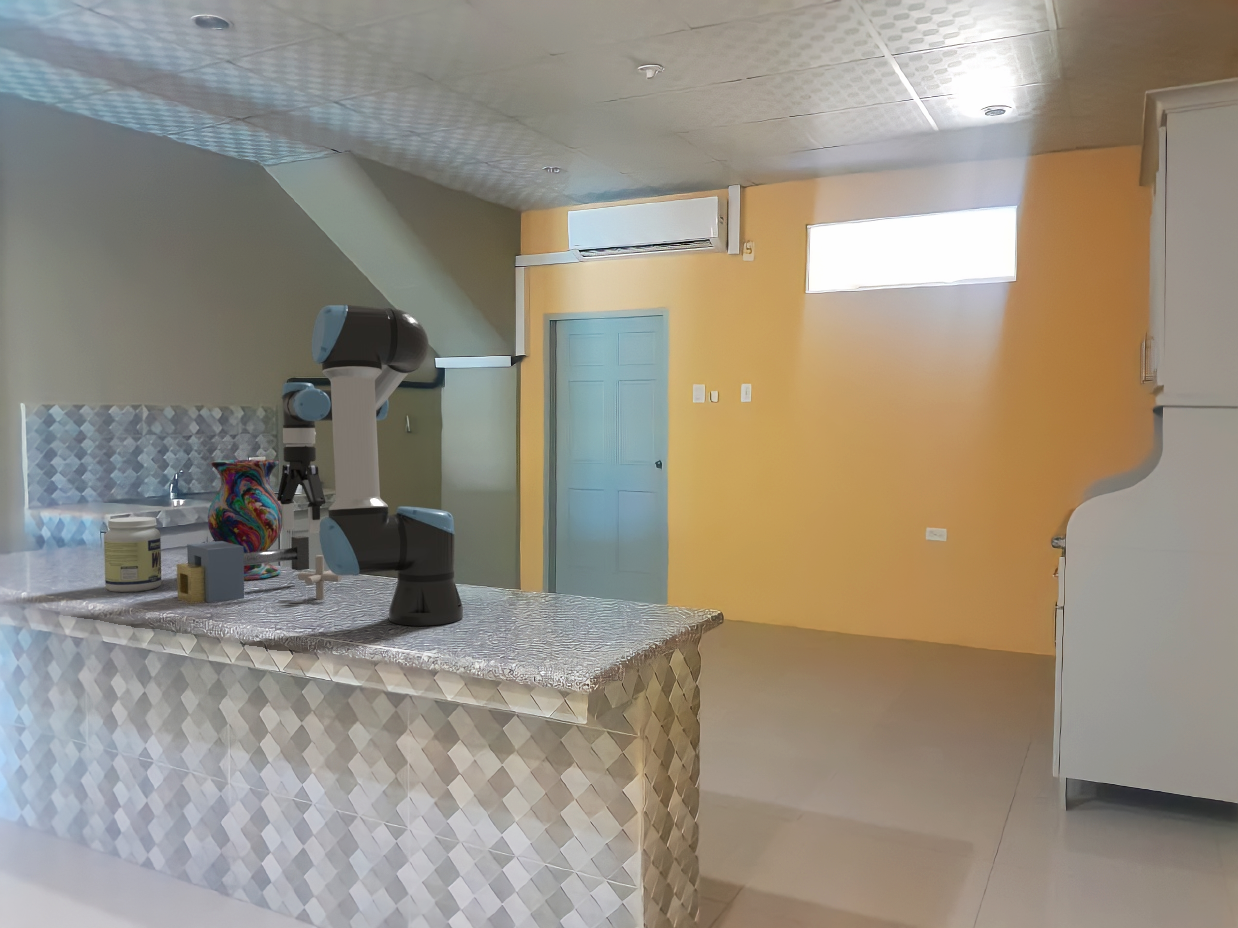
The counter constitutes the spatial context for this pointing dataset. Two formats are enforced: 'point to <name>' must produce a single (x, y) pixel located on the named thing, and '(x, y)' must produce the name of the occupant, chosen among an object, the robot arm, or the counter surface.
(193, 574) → the block
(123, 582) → the supplement tub
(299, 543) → the shaft
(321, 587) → the pipe connector
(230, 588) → the pillow block
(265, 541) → the vase
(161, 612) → the counter surface
